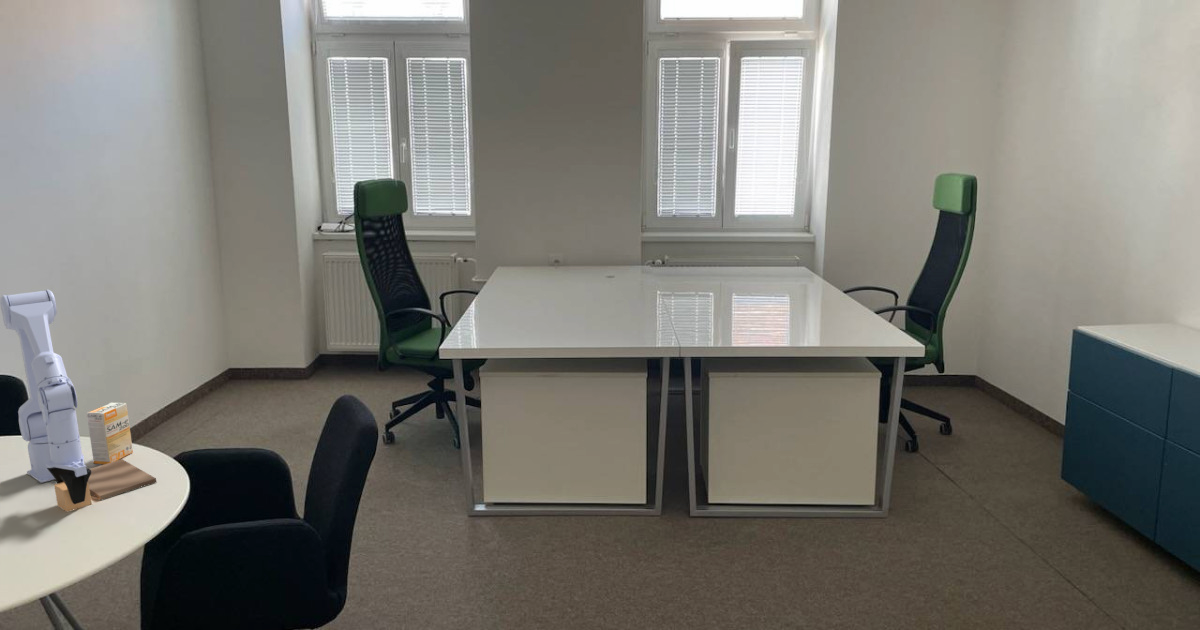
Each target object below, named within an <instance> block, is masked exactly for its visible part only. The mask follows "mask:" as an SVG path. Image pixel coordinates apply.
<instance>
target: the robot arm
mask: <svg viewBox="0 0 1200 630" xmlns="http://www.w3.org/2000/svg"><path fill="white" fill-rule="evenodd" d="M0 309H1V314H2V318H3V319H2V320H3V325H4V326H5V328H6V329H7V330H12V331H13V330H14V331H15V332H16V334H17V335H18V338H19V343H20V348H21V355H22V360H23V366H24V372H25V376H26V377H25V378H26V382H27V383H26V384H27V388H28V392H29V393H28V394H29V399H27V400H26V401H25V402H24V403H23V404H22V405H20V407H18V411H17V413H18V424H19V430H20V434H21V438H22V440H24V441H25V442H28V443H27V452H28V457H29V463H30V469H29V470H27V471H26V473H27V474H28V475H29V476H30V477H33V479H35V480H37V481H38V482H39V483H41V484H43V483H45V482H50V481H53V480H55V482H56V484H58V483H61V482H64V483H65V485H66V486H67V489H68V491H69V494H70V498H71V500H72V502H73V504H77V503H80V502H83V501H85V495H86V486H87V482H88V479H89V477H90V475H91V470H90V469H91V468H87V465H86V464H85V456H84V454H83V450H82V444H81V437H80V432H79V430H80V429H79V425H78V419H77V412H76V409H77V408H78V394H77V391H76V388H75V386H74V384H73V382H72V379H71V378H70V377H68V374H67V370H66V366H65V364H64V363H65V362H64V361H63V357H62V356H61V355H60V354H58V353H55V351H54V348H53V343H52V336H51V331H50V325H51V324H53V322H54V321H55V317H56V315H57V303H56V298H55V295H54V293H53V291H52V290H50V289H45V290H40V291H39V290H38V291H31V292H30V291H29V292H22V293H16V294H15V293H14V294H7V295H6V294H3V295H1V297H0Z"/></svg>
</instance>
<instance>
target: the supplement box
mask: <svg viewBox="0 0 1200 630" xmlns="http://www.w3.org/2000/svg"><path fill="white" fill-rule="evenodd" d="M128 412H129V411H128V405H127V403H126V402H109V403H107V404H104V405H102V406H100V407H97V408H95V409H92V410H90V411H88V412H86V417H87V425H88V431H89V439H90V445H91V452H92V453H91V455H92V459H93V464H96V465H97V464H98V465H104V464H108V463H111V462H115V461H118V460H122V458H125V457H126V456H129V455H130V454H133V453H134V450H133V443H132V433H131V428H130V421H129V419H130V418H129V413H128Z"/></svg>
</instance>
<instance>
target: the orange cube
mask: <svg viewBox="0 0 1200 630" xmlns="http://www.w3.org/2000/svg"><path fill="white" fill-rule="evenodd" d="M54 492H55V498H56V504H57V506H58V507H59V508H60V507H61V509H62V510H63V509H64V510H65V511H64V510H63V511H64V512H66V511H69V512H71V511H70V510H72V511H74V510H73V509H75V510H78V509H80V508H85V507H87V505H88V506H90V505H93V503H92V496H91V493H90V489H89V483H88V482H87V486H86V495H85V501H83V502H80V503H77V504H73V502H72V500H71V498H70V494H69V491H68V489H67V486H66V485H65V483H64V482H61V483H58V484H57V483H55V484H54ZM77 508H78V509H77Z"/></svg>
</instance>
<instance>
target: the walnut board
mask: <svg viewBox="0 0 1200 630" xmlns="http://www.w3.org/2000/svg"><path fill="white" fill-rule="evenodd" d="M89 469H90V470H91V475H90V477H89V479H88V483H89V489H90V495H92V496H94V497H95V498H97V499H98V500H100V501H103V500H106V499H109V498H112V497H115V496H118V494H119V495H121V493H122V494H124V493H123V492H125V493H127V492H126V491H128V492H130V490H131V491H134V490H136V489H135V488H137V489H140V488H142V487H141V486H144V485H147V486H149V485H148V484H150V485H153V484H156V483H157V477H155V476H153V475H151V474H149V473H147V472H146V471H143V470H142V469H141V468H139V467H137V466H135V465H134V464H131V463H129V462H128V461H126V460H124V459H122V458H121V459H119V460H118V461H115V462H111V463H108V464H100V465H99V466H95V467H91V468H89ZM155 482H156V483H155ZM152 483H153V484H152ZM139 487H140V488H139ZM144 487H145V486H144ZM133 489H134V490H133ZM111 496H112V497H111ZM105 498H106V499H105ZM102 499H103V500H102Z"/></svg>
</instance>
